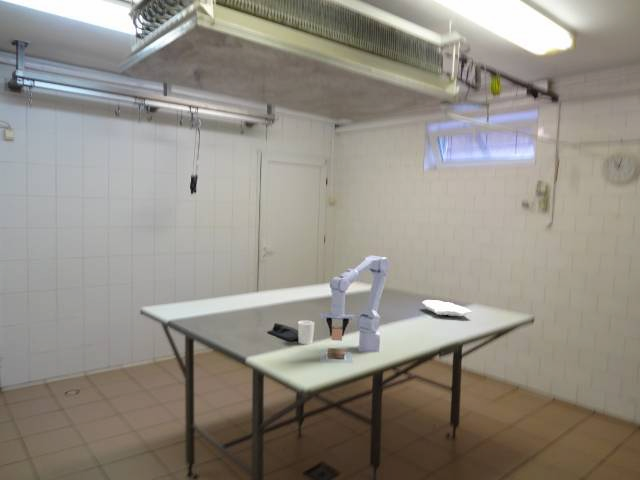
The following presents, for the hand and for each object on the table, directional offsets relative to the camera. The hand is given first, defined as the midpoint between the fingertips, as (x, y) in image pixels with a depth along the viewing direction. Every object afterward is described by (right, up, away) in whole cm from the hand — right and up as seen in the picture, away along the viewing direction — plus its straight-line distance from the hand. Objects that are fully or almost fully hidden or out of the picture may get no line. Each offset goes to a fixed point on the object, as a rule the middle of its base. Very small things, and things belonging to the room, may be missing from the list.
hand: (336, 335), depth 204 cm
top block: (0, -2, 0) cm, 2 cm away
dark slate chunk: (-23, -7, +31) cm, 40 cm away
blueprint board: (0, -10, +1) cm, 10 cm away
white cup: (-14, -8, +20) cm, 26 cm away
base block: (0, -10, +1) cm, 10 cm away
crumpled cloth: (+71, -6, +91) cm, 116 cm away
